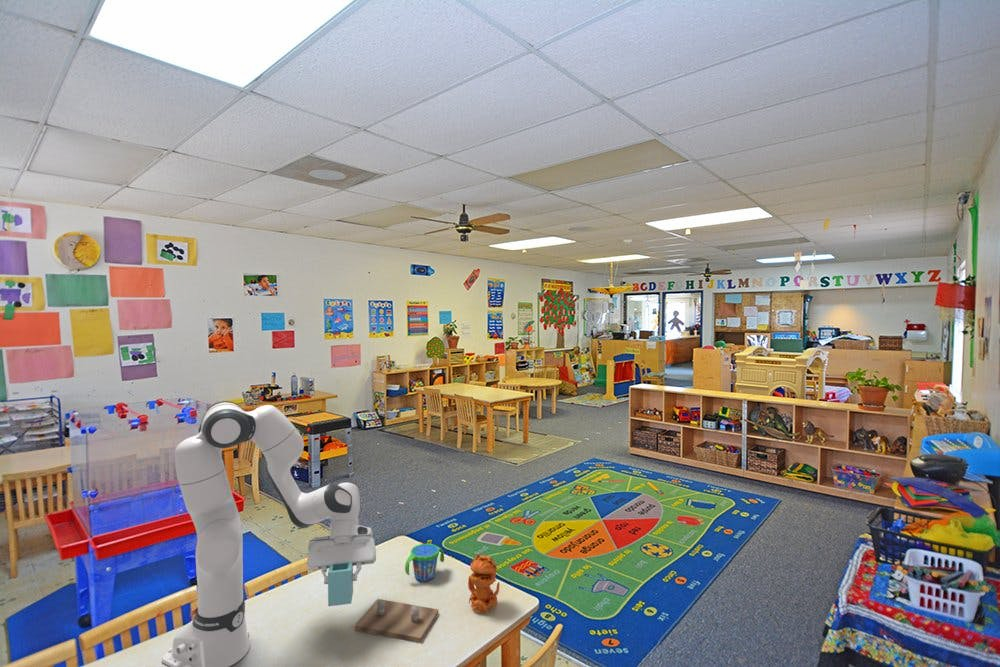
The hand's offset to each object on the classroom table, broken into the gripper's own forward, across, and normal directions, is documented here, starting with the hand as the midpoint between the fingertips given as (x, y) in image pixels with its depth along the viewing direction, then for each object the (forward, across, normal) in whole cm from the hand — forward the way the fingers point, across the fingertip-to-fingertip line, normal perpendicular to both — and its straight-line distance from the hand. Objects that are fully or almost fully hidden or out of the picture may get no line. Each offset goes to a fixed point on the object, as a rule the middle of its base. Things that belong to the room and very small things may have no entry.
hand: (340, 582), depth 138 cm
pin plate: (+9, +17, +16) cm, 25 cm away
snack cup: (-8, +27, +33) cm, 43 cm away
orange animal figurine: (+8, +44, +17) cm, 48 cm away
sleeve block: (+3, 0, +4) cm, 5 cm away
